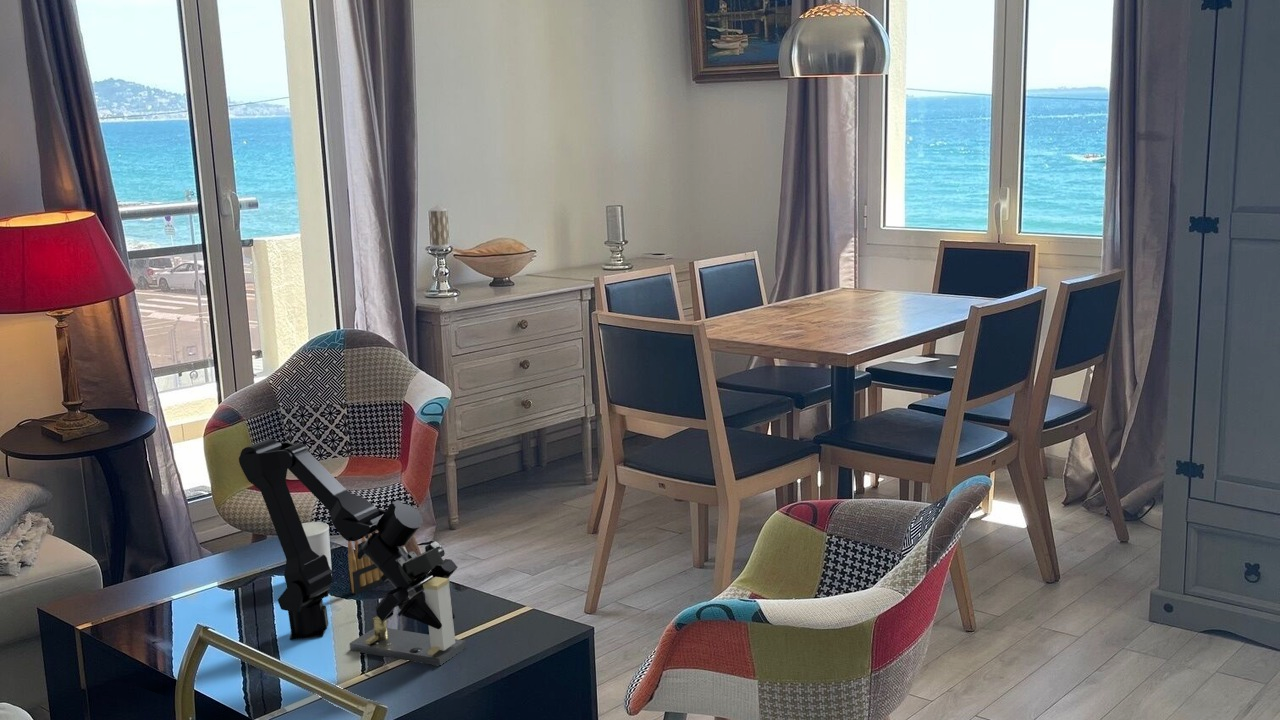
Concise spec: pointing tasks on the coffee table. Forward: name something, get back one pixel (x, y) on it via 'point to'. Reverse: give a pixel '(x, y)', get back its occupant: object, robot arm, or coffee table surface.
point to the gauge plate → (402, 645)
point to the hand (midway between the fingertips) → (446, 623)
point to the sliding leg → (440, 613)
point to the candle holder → (318, 538)
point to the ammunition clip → (362, 570)
